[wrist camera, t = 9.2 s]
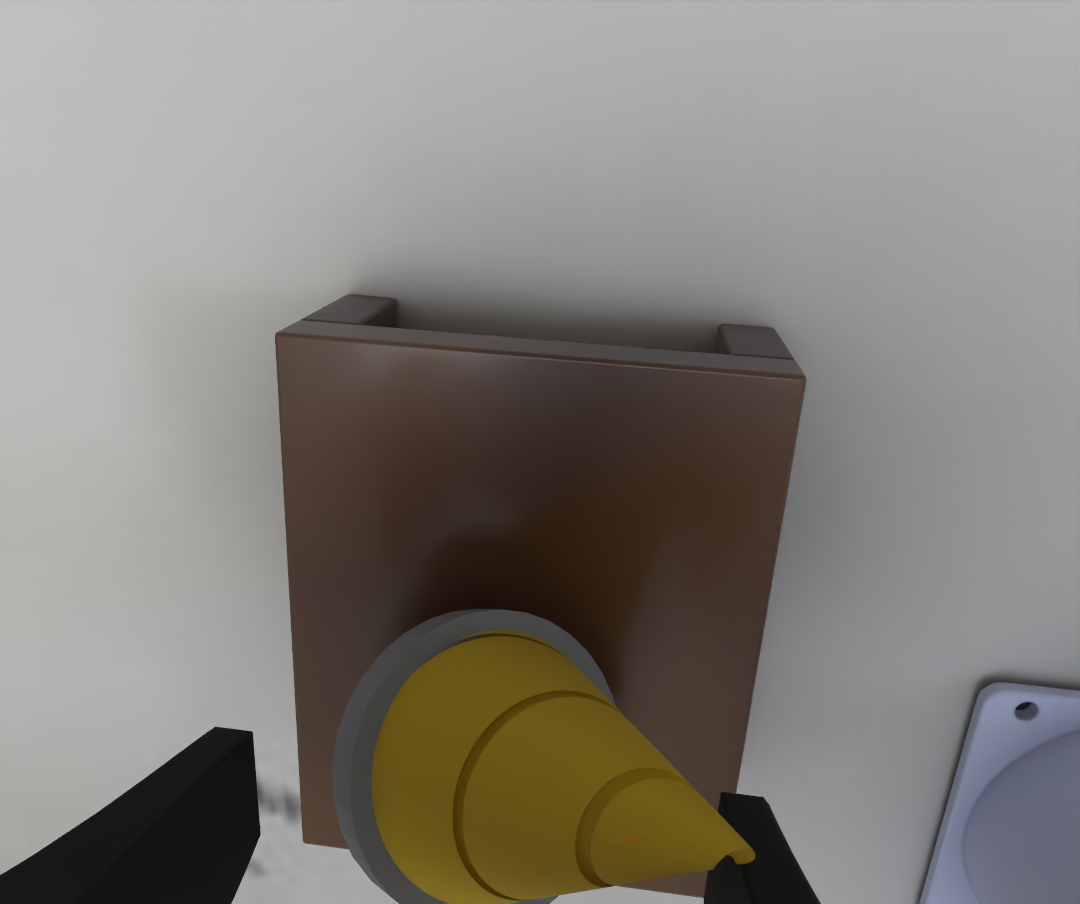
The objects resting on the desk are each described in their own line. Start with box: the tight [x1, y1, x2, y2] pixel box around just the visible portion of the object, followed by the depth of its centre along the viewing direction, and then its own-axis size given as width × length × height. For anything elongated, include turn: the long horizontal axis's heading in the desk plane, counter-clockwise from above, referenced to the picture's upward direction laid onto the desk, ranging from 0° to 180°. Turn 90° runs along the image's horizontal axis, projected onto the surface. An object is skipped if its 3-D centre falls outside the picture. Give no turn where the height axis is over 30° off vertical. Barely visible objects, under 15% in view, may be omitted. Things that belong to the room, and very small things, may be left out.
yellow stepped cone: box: [332, 609, 755, 904], centre depth 14 cm, size 5×5×10 cm
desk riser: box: [275, 295, 806, 898], centre depth 19 cm, size 10×12×4 cm
